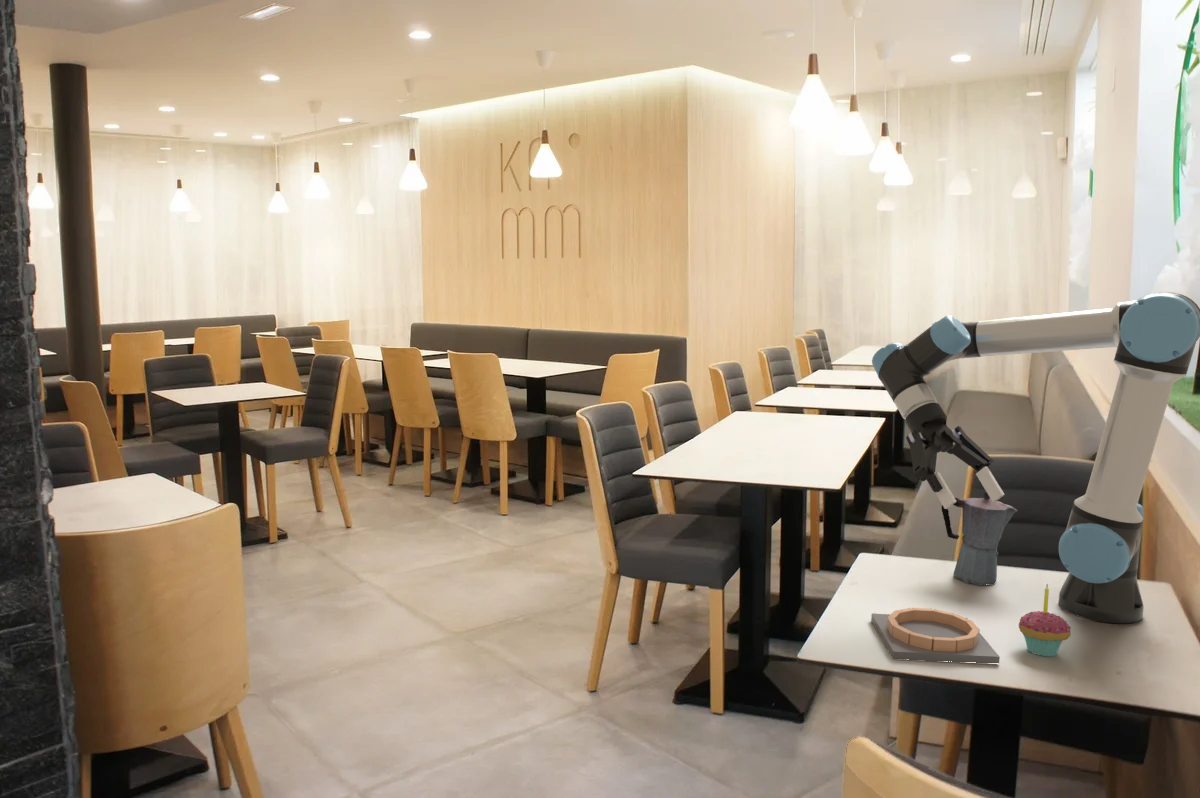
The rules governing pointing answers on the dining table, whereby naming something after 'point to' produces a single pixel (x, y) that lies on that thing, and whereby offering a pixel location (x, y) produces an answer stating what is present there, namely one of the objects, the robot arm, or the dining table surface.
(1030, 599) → the dining table surface
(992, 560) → the moka pot
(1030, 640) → the cupcake
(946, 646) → the ring dish
